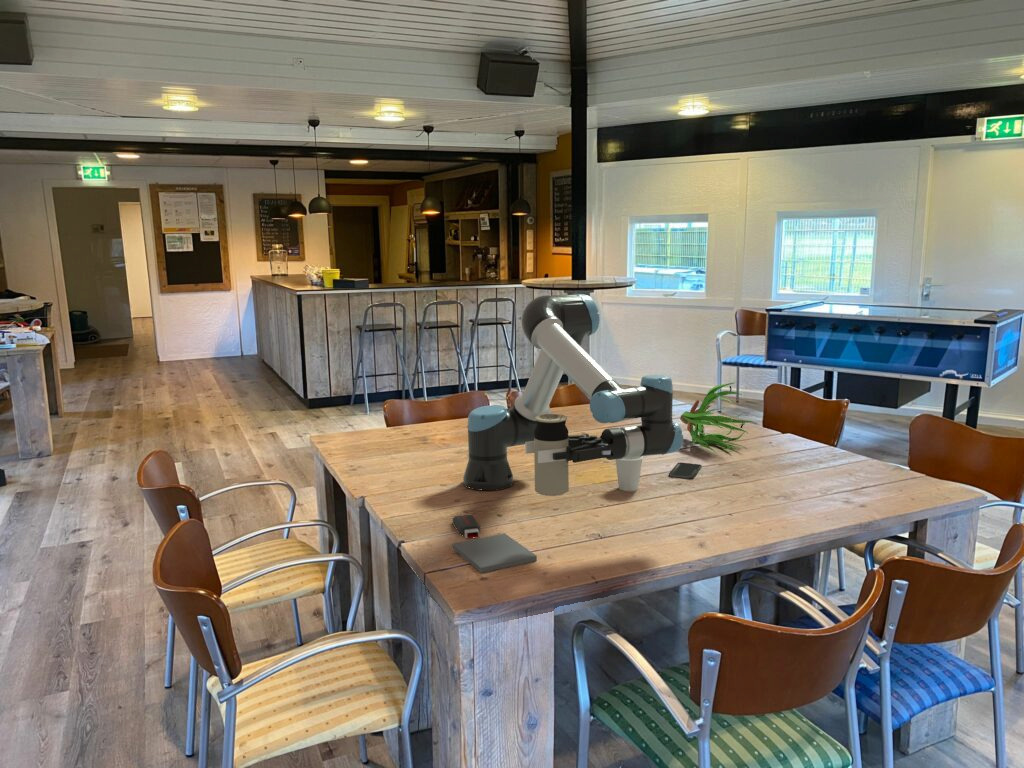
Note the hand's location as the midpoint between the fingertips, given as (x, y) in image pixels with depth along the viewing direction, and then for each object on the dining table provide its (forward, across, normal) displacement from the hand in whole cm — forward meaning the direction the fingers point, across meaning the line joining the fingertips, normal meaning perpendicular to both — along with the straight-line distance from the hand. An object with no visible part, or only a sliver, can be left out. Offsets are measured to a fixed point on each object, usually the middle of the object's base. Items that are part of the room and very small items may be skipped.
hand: (532, 452), depth 176 cm
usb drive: (+12, +17, -24) cm, 32 cm away
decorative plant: (-92, +69, -25) cm, 118 cm away
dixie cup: (-42, +34, -24) cm, 59 cm away
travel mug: (-5, 0, -10) cm, 11 cm away
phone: (-67, +43, -25) cm, 83 cm away
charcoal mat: (+10, 0, -24) cm, 26 cm away
